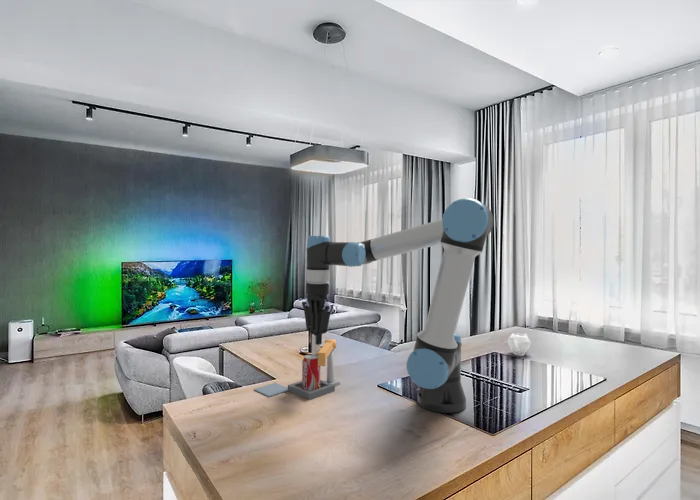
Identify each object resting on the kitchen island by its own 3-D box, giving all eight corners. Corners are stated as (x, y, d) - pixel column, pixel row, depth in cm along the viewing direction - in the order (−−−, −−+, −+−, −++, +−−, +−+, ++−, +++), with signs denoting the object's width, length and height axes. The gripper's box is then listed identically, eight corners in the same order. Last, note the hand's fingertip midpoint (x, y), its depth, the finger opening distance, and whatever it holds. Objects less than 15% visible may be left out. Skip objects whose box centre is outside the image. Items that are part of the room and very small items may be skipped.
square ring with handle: (346, 386, 145) (346, 350, 145) (309, 400, 133) (309, 360, 133) (324, 378, 153) (324, 345, 153) (287, 390, 141) (287, 354, 141)
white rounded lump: (537, 352, 193) (538, 332, 193) (520, 360, 179) (520, 339, 178) (517, 348, 200) (517, 329, 199) (499, 356, 185) (499, 336, 185)
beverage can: (317, 395, 137) (317, 359, 137) (299, 393, 139) (299, 358, 138) (322, 388, 144) (322, 354, 143) (305, 387, 145) (305, 353, 144)
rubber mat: (291, 390, 142) (291, 388, 142) (269, 397, 135) (269, 395, 135) (275, 383, 148) (275, 382, 148) (254, 390, 141) (254, 389, 141)
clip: (336, 351, 149) (336, 339, 149) (327, 366, 131) (327, 352, 131) (326, 351, 150) (326, 339, 149) (315, 365, 132) (315, 352, 132)
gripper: (339, 283, 133) (337, 355, 133) (313, 280, 142) (311, 347, 142) (322, 284, 127) (320, 360, 128) (296, 281, 136) (294, 351, 137)
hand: (316, 353), depth 135 cm, fingers closed
